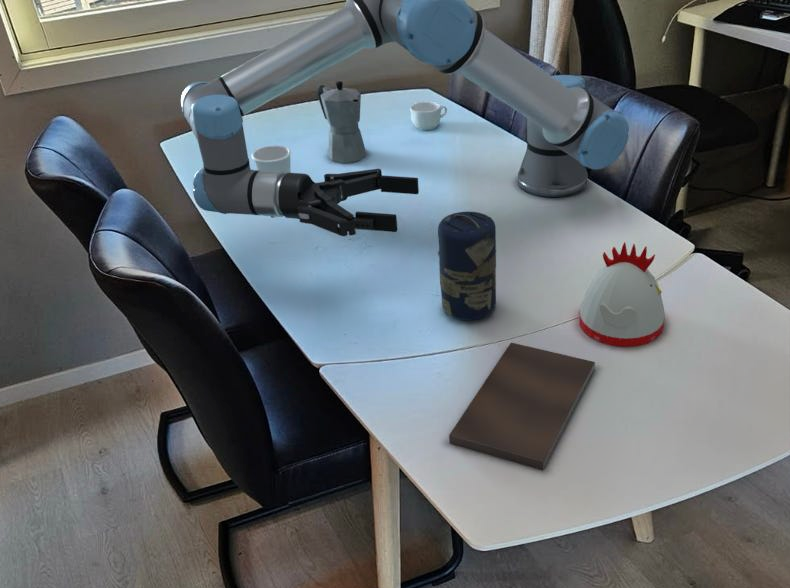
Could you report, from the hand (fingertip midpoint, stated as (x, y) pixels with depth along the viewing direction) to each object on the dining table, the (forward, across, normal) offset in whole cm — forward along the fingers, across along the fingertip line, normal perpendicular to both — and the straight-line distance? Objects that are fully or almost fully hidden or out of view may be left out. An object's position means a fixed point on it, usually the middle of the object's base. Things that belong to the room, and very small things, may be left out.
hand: (407, 204), depth 136 cm
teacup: (-17, -82, -20) cm, 86 cm away
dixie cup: (-41, -38, -20) cm, 59 cm away
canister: (+10, 0, -20) cm, 22 cm away
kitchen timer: (+36, 0, -20) cm, 41 cm away
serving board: (+23, +24, -20) cm, 38 cm away
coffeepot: (-33, -61, -20) cm, 73 cm away
